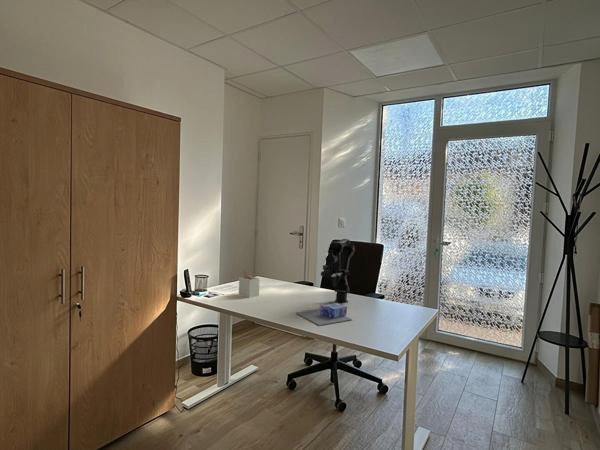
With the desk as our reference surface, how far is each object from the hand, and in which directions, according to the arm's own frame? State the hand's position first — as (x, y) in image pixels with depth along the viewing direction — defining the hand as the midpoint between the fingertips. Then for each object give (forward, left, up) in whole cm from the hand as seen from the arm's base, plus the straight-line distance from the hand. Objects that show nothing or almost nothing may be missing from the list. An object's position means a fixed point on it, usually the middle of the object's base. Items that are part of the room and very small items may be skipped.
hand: (334, 286), depth 222 cm
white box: (+37, -47, -13) cm, 62 cm away
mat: (+18, +14, -13) cm, 26 cm away
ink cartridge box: (+6, +15, -9) cm, 18 cm away
